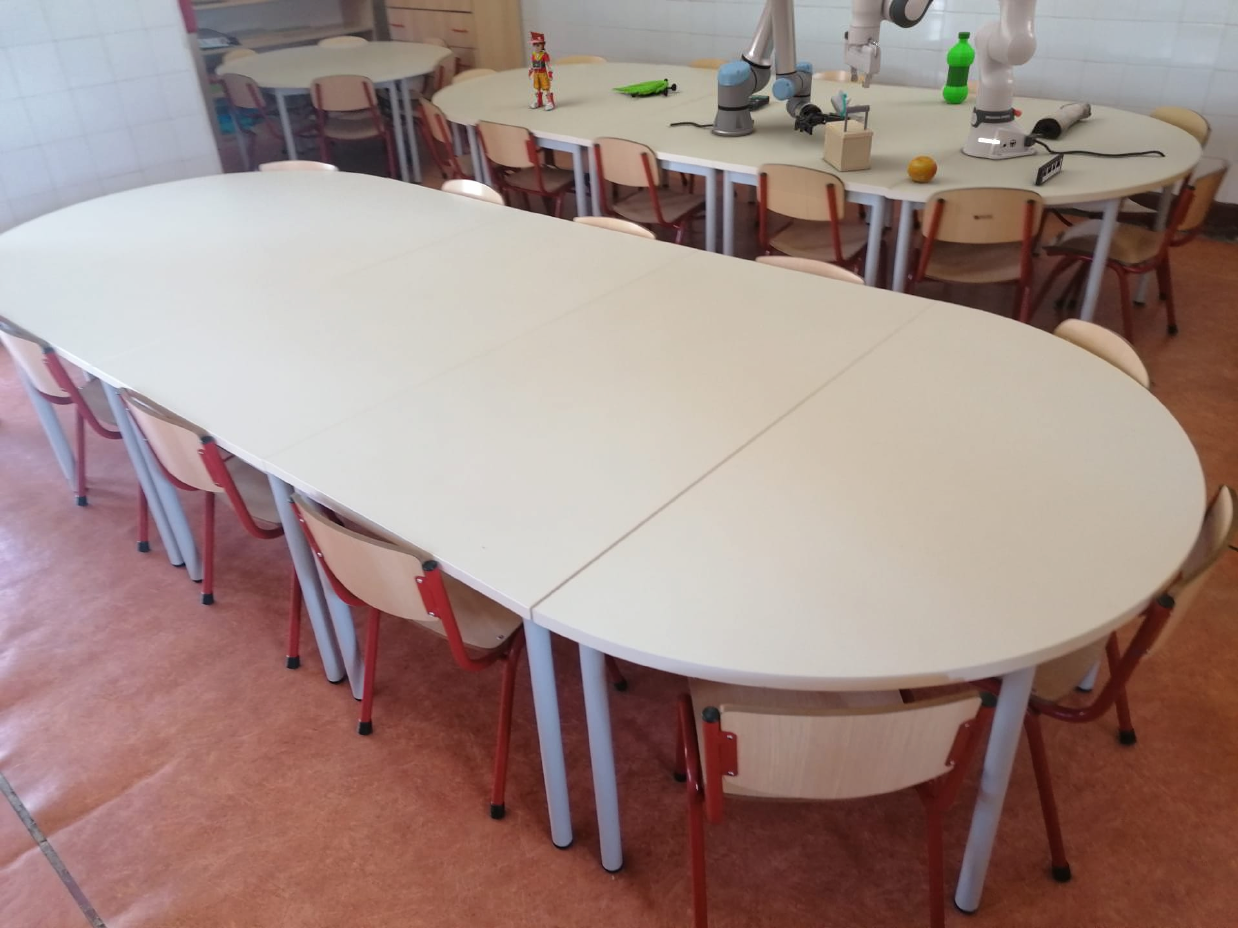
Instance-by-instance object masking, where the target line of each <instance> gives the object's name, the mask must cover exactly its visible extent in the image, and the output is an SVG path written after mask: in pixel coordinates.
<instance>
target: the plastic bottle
mask: <svg viewBox="0 0 1238 928" xmlns="http://www.w3.org/2000/svg"><path fill="white" fill-rule="evenodd" d="M970 36H971V32H970V31H959V32H958V36H957V39H958V42H957V43H956V44H954V45H953V46H952V47H951V48H950V49H949V50H948V52H947V54H946V63H947V64H948V69H947V70H948V71H947V76H946V77H947V78H946V84H945V85H944V87H943V90H942V97H943V99H944V100H945V101H946V102H947V103H948V104H960V103H961V102H963V101H964V100H966V98H967V96H968V95H969V85H968V79H969V73H970V67H971V65H972V64H973V63H974V61H975V57H976V51H975V49H974V47H972V45H971V44H970V43H969V42H968V41H969V39H970V38H971V37H970Z"/></svg>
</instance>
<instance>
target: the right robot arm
mask: <svg viewBox="0 0 1238 928" xmlns="http://www.w3.org/2000/svg"><path fill="white" fill-rule="evenodd" d="M933 2H934V0H852V2H851V14H852V16H851V17H852V18H851V21H850V25H849V29H847V30H845V31H844V32H843V39H844V45H843V60H844V64H845V65H848V66H849V73H850V82H853V83H857V82H858V81H859V80H858V79H859V75H858V71H860V72H862V73H864V74H863V75H864V79H863V81H862V85H861V87H862V88H863V89H869V88H870V85H871V81H872V79H873V77H874V76H873V75H879V73H880V71H881V61H882V50H881V47H880V46H879V45H878V43H879V41H880V33H881V25H882V24H881V23H882V21H887V22H889V23H891V24H894V25H896V26H897V27H899V28H902V29H910V28H913V27H915V26H916V25H918V24H919V23H920V22H922V20H923V18H924V17H925V16H926V14H927V12H928V10H929V8H930V6H931V5H932V3H933ZM1037 2H1038V0H998V5H999V12H1000V13H999V14H1000V15H999V20H991V21H988V22H985V23H983V24H982V25H981V26H980V27H979V28H978V30H977V31H976V32H975V36H974V41H973V42H974V46H975V49H976V51H977V61H978V62H977V63H978V65H977V66H978V86H977V94H976V100H975V105H974V107H973V110H972V113H971V119H970V120H971V121H970V129H969V133H968V135H967V138H966V139H967V140H966V142H965V144H964V146H963V148H962V152H963V153H964V154H966V155H969V156H972V157H977V158H984V159H985V158H986V159H991V160H1003V159H1011V158H1017V157H1022V156H1023V157H1024V156H1030V155H1034V154H1035V153H1036V150H1035V147H1034V145H1036V144H1038V145H1040V146H1043V147H1044V149H1046V151H1047V152H1048V153H1049V154H1052V155H1059V154H1064V155H1069V154H1070V155H1071V154H1084V155H1092V156H1097V157H1107V158H1119V157H1120V158H1121V157H1129V156H1130V157H1131V156H1143V155H1150V154H1156V155H1159V156H1160V157H1162V158H1166V155H1165V154H1164V152H1162V151H1160V150H1147V151H1138V152H1137V151H1136V152H1125V153H1102V152H1096V151H1095V152H1094V151H1089V150H1088V151H1087V150H1068V151H1067V150H1065V151H1055V150H1052V149H1051V148H1050V147H1049V145H1047V144H1046V143H1045V142H1043V141H1040V140H1038V139H1037V138H1038V134H1030V133H1029V131H1028V130H1027V129H1026V128H1025V127H1024V126H1022V124H1020V123H1019V122H1018V121H1017V120H1016V118H1021V116H1022V115H1023V112H1022V110H1020V109H1017V108H1014V107H1012V106H1013V100H1014V96H1015V90H1016V83H1017V82H1016V77H1015V75H1014V71H1013V69H1014V68H1013V67H1016V66H1022V65H1025V64H1027V63H1028V62H1029V61H1030V60H1031V59H1032V58H1033V57H1034V55H1035V54H1036V51H1037V45H1038V43H1037V38H1036V35H1035V19H1036V18H1035V17H1036V16H1035V15H1036V7H1037ZM1015 117H1016V118H1015Z"/></svg>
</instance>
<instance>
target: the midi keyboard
mask: <svg viewBox="0 0 1238 928" xmlns="http://www.w3.org/2000/svg"><path fill="white" fill-rule="evenodd" d="M1064 157H1065V154H1057V155H1056V156H1055V157H1052V159H1051V160H1049V161H1047V162H1045V164H1042V165H1041V166H1039V167H1038V169H1037V175H1036V179H1035V186H1040V185H1042V183H1044V182H1045V181H1047V180H1048V179H1049V178H1051V177H1052V176H1054V175H1055V174H1056V173H1058V172H1060V171H1061V170H1062V165H1063V161H1064Z"/></svg>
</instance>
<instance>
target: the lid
mask: <svg viewBox="0 0 1238 928" xmlns="http://www.w3.org/2000/svg"><path fill="white" fill-rule="evenodd" d="M870 111H871V106H870V105H869V104H864V105H860V106H856V105H854V106H849V107H845V109H844V112H845V121H836V122H826V125H825V128H826V127H827V128H829V129H830V130H832V131H833V132H835V133H836V134H838V135H839V136H840V137H842V138H843V139H847V138H857V137H866V136H872V137H873V136H874V131H873V130H872V129H870V128H868V119H869V112H870ZM850 113H857V114H859V113H864V122H863V124H862V123H860V122H859V121H857V120H856V119H851V120H848V114H850Z"/></svg>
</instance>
